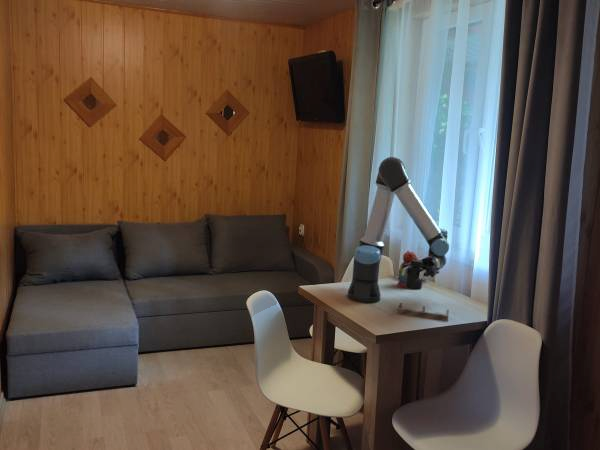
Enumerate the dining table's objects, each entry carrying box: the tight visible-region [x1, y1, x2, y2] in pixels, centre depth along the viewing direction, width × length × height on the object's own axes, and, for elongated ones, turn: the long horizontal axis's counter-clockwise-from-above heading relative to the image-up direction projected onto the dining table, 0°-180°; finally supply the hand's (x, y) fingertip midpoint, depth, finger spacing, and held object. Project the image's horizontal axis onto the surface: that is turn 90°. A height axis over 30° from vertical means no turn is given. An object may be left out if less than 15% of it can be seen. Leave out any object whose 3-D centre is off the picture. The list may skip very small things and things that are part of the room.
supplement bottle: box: [406, 259, 424, 291], centre depth 250 cm, size 7×7×12 cm
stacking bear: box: [397, 250, 419, 290], centre depth 294 cm, size 11×10×18 cm
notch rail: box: [396, 302, 450, 321], centre depth 251 cm, size 21×10×2 cm, turn 75°
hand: (411, 273), depth 246 cm, fingers closed on supplement bottle, 7 cm apart
